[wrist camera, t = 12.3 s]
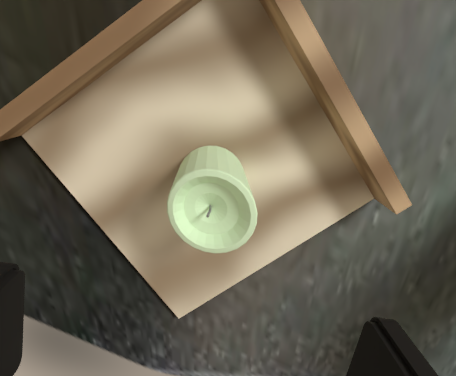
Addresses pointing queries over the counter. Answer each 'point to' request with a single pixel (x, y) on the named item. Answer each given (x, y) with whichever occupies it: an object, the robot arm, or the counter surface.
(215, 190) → the candle
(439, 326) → the counter surface
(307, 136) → the wooden tray
